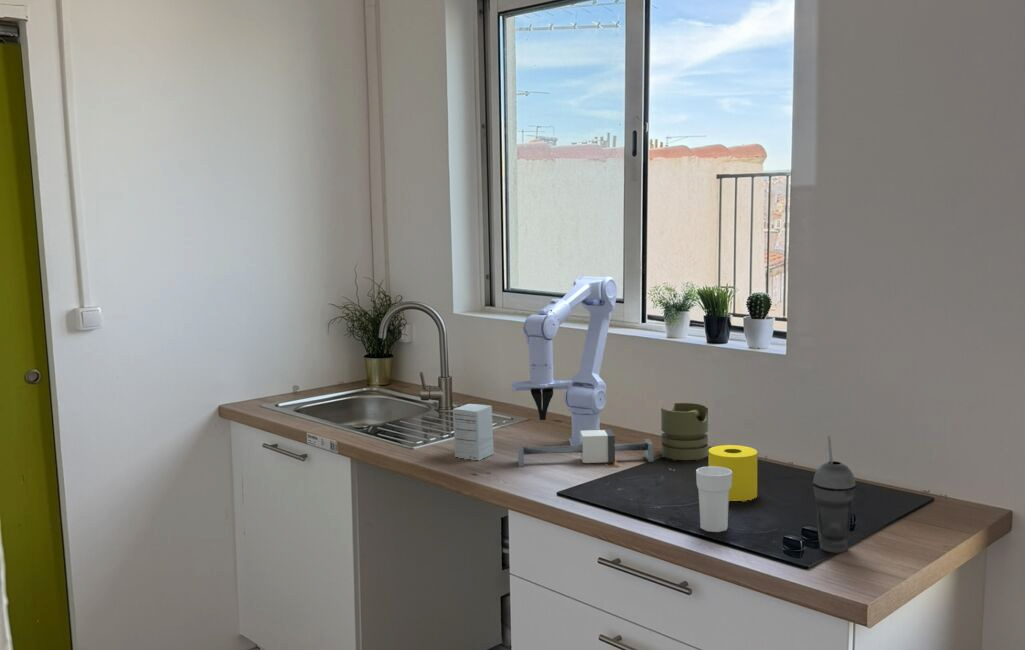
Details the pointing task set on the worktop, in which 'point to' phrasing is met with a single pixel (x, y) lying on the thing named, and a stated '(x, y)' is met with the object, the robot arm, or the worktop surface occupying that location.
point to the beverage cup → (833, 503)
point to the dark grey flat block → (611, 445)
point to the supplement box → (473, 431)
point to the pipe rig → (578, 449)
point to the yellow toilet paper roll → (737, 469)
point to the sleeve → (594, 446)
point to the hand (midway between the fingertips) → (542, 419)
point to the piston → (685, 431)
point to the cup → (714, 497)
